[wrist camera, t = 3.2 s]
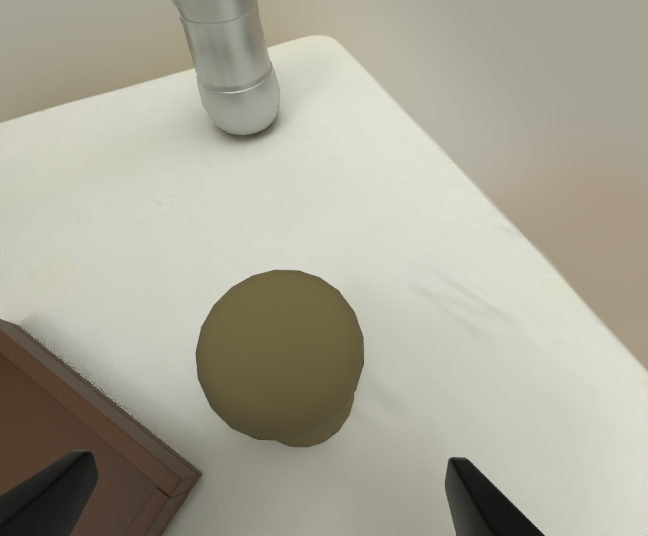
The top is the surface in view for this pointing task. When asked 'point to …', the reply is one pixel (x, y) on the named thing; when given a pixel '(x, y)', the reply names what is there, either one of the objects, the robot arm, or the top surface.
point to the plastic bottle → (231, 63)
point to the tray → (84, 442)
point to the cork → (281, 358)
